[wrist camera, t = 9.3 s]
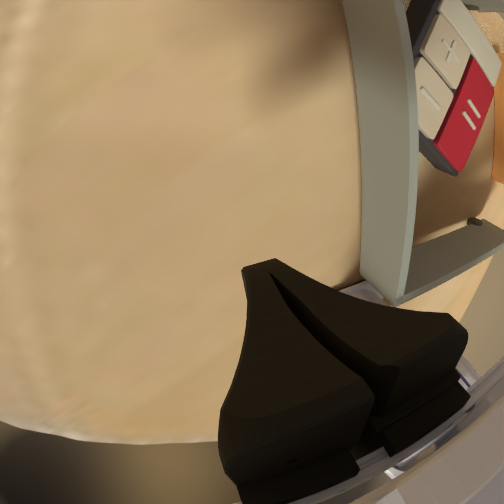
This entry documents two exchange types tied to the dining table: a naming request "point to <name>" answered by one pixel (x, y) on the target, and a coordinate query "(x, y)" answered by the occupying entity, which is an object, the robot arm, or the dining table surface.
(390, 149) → the grey u-shaped barrier
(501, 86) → the bar
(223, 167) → the dining table surface
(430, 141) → the calculator
